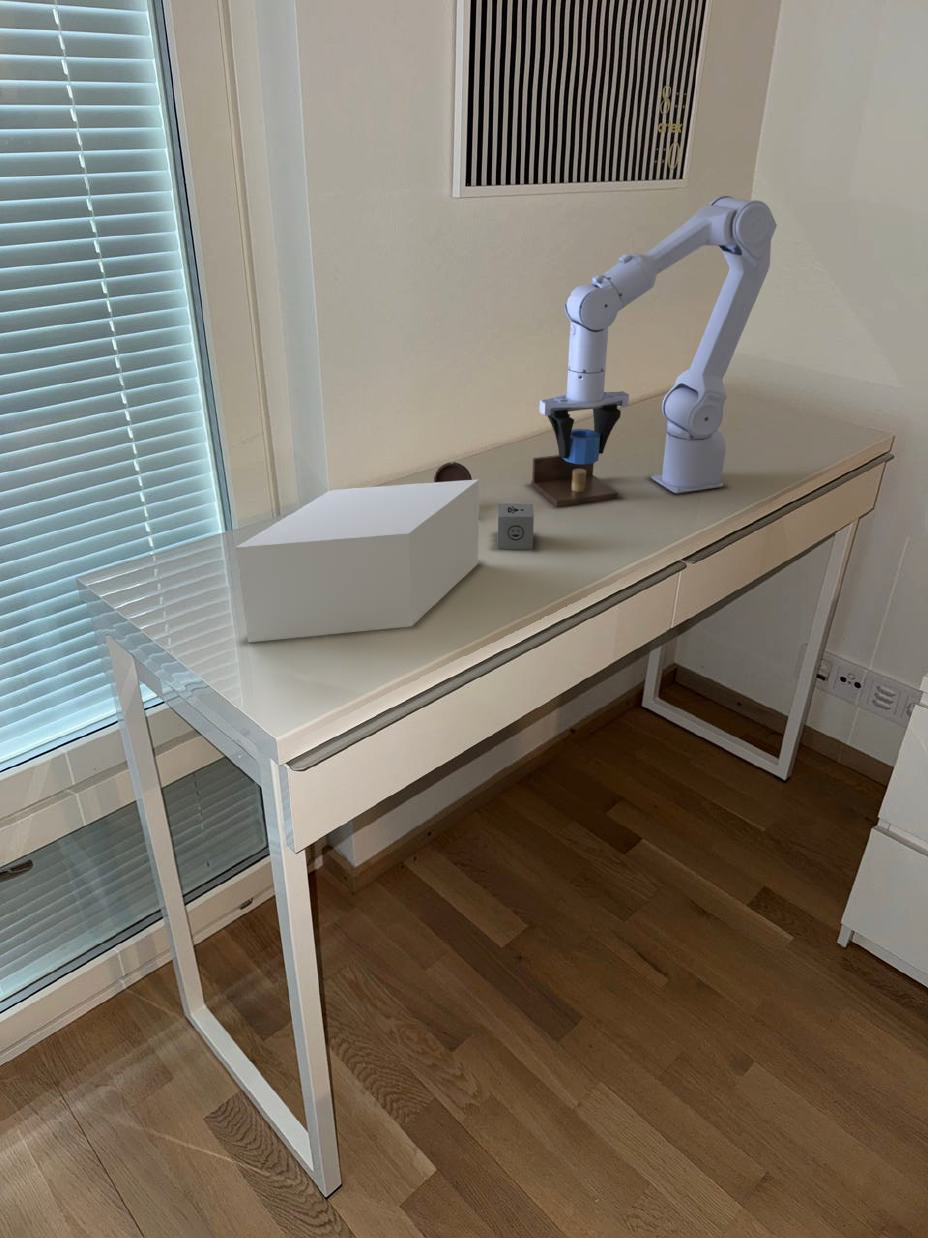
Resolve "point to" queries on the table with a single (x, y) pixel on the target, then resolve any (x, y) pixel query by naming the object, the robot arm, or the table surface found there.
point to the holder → (568, 482)
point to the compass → (452, 473)
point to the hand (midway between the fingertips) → (581, 454)
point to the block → (359, 560)
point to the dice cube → (515, 526)
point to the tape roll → (583, 446)
